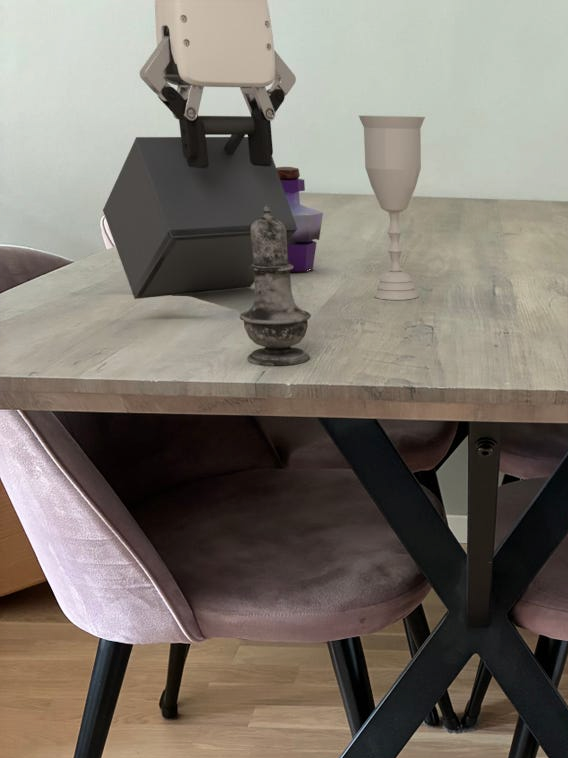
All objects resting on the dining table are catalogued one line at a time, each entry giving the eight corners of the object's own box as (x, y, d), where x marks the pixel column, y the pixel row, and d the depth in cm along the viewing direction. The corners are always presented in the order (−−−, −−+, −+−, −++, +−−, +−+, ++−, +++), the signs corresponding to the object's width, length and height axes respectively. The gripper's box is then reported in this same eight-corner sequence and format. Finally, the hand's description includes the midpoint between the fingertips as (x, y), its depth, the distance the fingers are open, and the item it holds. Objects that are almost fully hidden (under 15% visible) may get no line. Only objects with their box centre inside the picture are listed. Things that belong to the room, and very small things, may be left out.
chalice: (353, 294, 109) (344, 115, 100) (399, 288, 113) (395, 115, 104) (392, 303, 104) (387, 116, 96) (439, 297, 109) (439, 117, 100)
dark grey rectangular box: (318, 203, 96) (285, 106, 95) (188, 209, 88) (150, 104, 87) (250, 287, 112) (221, 204, 111) (134, 299, 104) (102, 210, 103)
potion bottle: (329, 265, 128) (323, 165, 122) (323, 275, 120) (317, 169, 115) (264, 264, 128) (255, 164, 122) (254, 274, 120) (244, 168, 114)
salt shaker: (312, 349, 84) (303, 201, 79) (314, 365, 79) (304, 208, 74) (245, 351, 84) (230, 201, 78) (242, 367, 79) (226, 208, 73)
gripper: (272, -46, 92) (287, 162, 101) (95, -66, 82) (129, 166, 91) (313, -53, 87) (325, 166, 96) (130, -76, 77) (163, 171, 86)
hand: (230, 164), depth 93 cm, fingers closed on dark grey rectangular box, 6 cm apart
